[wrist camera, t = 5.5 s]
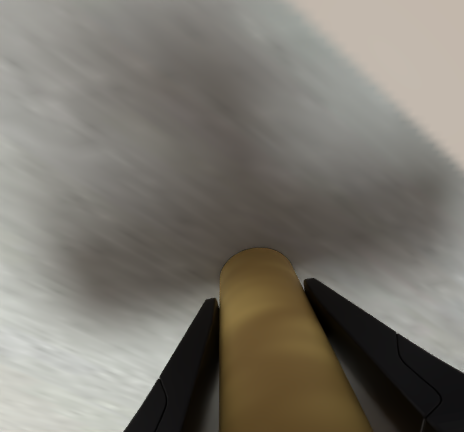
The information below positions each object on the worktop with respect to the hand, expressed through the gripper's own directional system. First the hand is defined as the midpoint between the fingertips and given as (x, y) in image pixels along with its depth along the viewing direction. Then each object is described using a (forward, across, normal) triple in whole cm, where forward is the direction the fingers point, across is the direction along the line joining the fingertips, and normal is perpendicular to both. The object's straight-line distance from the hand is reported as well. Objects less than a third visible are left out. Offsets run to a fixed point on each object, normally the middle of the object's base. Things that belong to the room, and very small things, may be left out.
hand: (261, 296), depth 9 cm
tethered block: (+2, +1, +8) cm, 8 cm away
